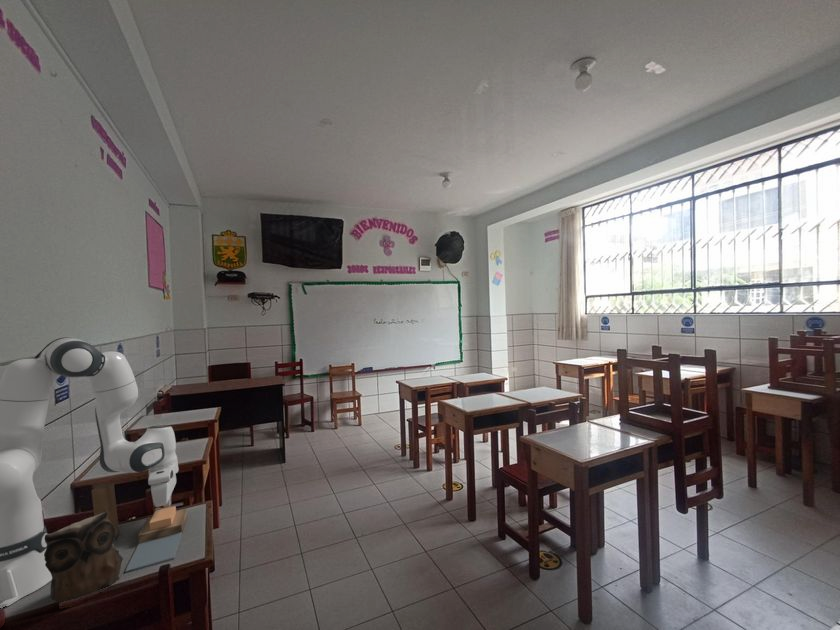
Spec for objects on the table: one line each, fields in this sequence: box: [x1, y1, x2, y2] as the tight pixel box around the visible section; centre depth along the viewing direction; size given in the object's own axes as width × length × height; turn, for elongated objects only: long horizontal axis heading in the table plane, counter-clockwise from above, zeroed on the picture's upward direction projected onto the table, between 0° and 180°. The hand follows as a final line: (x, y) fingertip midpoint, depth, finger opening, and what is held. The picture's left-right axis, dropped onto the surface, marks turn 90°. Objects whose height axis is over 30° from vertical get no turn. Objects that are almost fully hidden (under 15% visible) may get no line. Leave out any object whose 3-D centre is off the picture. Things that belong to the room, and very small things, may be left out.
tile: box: [149, 505, 177, 531], centre depth 134 cm, size 6×9×2 cm, turn 23°
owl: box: [44, 512, 124, 604], centre depth 105 cm, size 13×13×20 cm
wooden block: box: [91, 482, 120, 536], centre depth 131 cm, size 9×4×18 cm, turn 100°
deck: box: [137, 508, 188, 544], centre depth 134 cm, size 12×12×3 cm
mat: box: [124, 532, 183, 574], centre depth 122 cm, size 12×15×1 cm
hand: (167, 507), depth 142 cm, fingers closed
